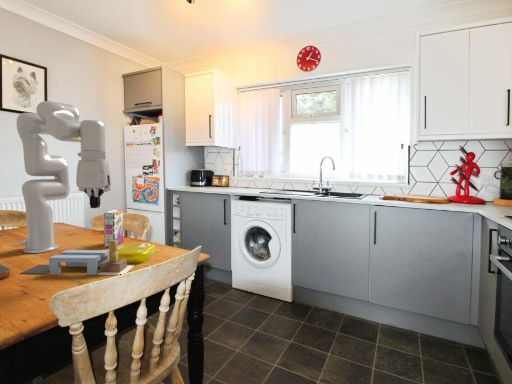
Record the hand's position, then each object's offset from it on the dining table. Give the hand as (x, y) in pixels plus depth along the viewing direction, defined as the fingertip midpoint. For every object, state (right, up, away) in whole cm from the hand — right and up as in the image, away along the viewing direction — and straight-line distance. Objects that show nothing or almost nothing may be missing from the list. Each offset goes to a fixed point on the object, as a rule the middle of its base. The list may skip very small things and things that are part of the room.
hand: (95, 207), depth 103 cm
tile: (+7, -23, +2) cm, 24 cm away
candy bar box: (-11, -20, +37) cm, 43 cm away
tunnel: (-6, -23, +2) cm, 24 cm away
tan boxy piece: (+6, -23, +2) cm, 24 cm away
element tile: (+6, -22, +17) cm, 29 cm away
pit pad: (-20, -23, +2) cm, 30 cm away
